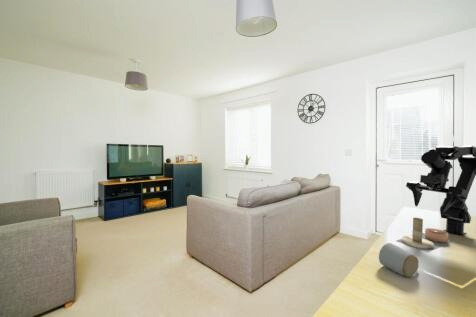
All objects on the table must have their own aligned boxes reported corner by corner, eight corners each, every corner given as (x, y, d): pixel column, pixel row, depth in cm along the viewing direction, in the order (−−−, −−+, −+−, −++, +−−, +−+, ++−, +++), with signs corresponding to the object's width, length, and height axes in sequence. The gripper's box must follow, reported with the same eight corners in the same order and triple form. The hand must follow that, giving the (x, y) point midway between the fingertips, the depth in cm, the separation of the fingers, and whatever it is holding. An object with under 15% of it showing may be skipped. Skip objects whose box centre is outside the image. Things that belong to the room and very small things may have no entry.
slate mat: (421, 233, 101) (421, 232, 101) (453, 243, 91) (453, 241, 91) (395, 242, 92) (395, 240, 92) (427, 253, 82) (427, 252, 82)
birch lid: (409, 236, 96) (410, 213, 96) (438, 245, 87) (439, 220, 87) (396, 241, 92) (397, 217, 91) (425, 251, 83) (426, 224, 82)
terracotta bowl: (430, 235, 98) (430, 227, 97) (451, 241, 91) (451, 232, 91) (421, 238, 94) (421, 229, 94) (442, 245, 88) (443, 235, 88)
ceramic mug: (404, 281, 66) (405, 255, 65) (377, 267, 73) (378, 244, 73) (426, 274, 70) (427, 249, 69) (398, 261, 77) (399, 239, 77)
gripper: (404, 164, 99) (394, 197, 96) (461, 167, 82) (449, 207, 79) (417, 174, 103) (407, 205, 101) (472, 179, 86) (462, 217, 84)
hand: (428, 208), depth 91 cm, fingers open, 9 cm apart
